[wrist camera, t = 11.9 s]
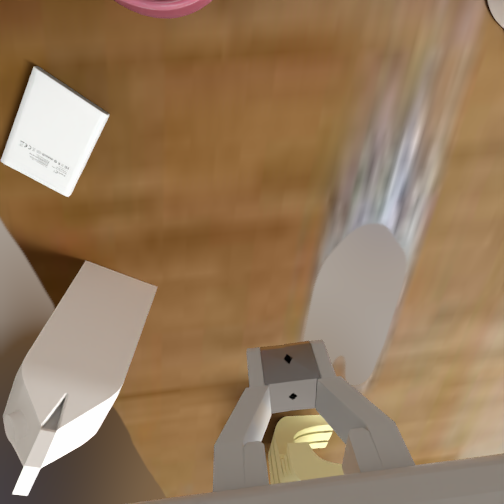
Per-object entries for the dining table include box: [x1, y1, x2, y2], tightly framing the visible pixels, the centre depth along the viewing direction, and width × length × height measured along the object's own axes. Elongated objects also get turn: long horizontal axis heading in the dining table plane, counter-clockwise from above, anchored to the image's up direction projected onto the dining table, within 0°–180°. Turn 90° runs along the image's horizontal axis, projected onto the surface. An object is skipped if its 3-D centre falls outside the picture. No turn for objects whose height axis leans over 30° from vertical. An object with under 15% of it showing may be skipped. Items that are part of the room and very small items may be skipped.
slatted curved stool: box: [268, 415, 344, 484], centre depth 69 cm, size 30×16×18 cm, turn 173°
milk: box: [3, 261, 157, 496], centre depth 39 cm, size 12×12×26 cm
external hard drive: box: [1, 66, 110, 197], centre depth 36 cm, size 2×8×12 cm
